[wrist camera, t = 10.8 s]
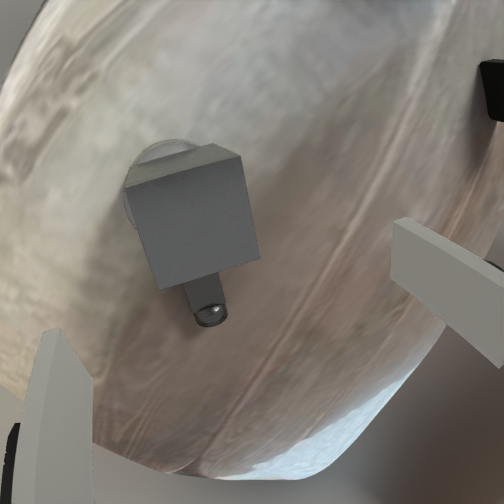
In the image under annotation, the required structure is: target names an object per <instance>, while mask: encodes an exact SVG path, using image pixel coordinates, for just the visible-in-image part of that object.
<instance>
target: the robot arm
mask: <svg viewBox="0 0 504 504" xmlns="http://www.w3.org/2000/svg"><path fill="white" fill-rule="evenodd" d="M390 279H392V280H393V281H394V282H396V283H397V284H398V285H399V286H401V287H402V288H403V289H405V290H406V291H407V292H408V293H410V294H411V295H412V296H413V297H415V298H416V299H417V300H418V301H420V302H421V303H422V304H423V305H425V306H426V307H427V308H428V309H430V310H431V311H432V312H433V313H435V314H436V315H437V316H438V317H439V318H441V319H442V320H443V321H444V322H445V323H447V324H448V325H449V326H450V327H451V328H453V329H454V330H455V331H456V332H457V333H459V334H460V335H461V336H462V337H463V338H464V339H466V340H467V341H468V342H469V343H470V344H471V345H473V346H474V347H475V348H476V349H477V350H478V351H480V352H481V353H482V354H483V355H484V356H485V357H486V358H488V359H489V360H490V361H491V362H492V363H493V364H494V365H495V366H497V367H498V368H499V369H500V368H501V366H503V365H504V270H502V268H500V267H499V266H497V265H495V264H494V263H492V262H490V261H486V260H484V259H481V258H479V257H477V256H476V255H474V254H472V253H471V252H469V251H467V250H466V249H464V248H462V247H460V246H459V245H457V244H455V243H453V242H452V241H450V240H448V239H446V238H444V237H443V236H441V235H439V234H437V233H435V232H434V231H432V230H430V229H428V228H426V227H424V226H422V225H420V224H419V223H417V222H415V221H413V220H411V219H409V218H407V217H404V218H401V219H398V220H395V221H393V227H392V256H391V274H390ZM93 388H94V379H93V378H92V377H91V375H90V374H89V372H88V371H87V369H86V368H85V366H84V365H83V363H82V362H81V360H80V359H79V357H78V356H77V354H76V353H75V351H74V350H73V348H72V347H71V345H70V343H69V342H68V340H67V339H66V337H65V335H64V334H63V332H62V330H61V329H60V328H57V329H54V330H50V331H47V332H44V333H43V335H42V338H41V341H40V345H39V348H38V351H37V355H36V359H35V362H34V366H33V370H32V374H31V378H30V382H29V386H28V390H27V394H26V399H25V404H24V408H23V413H22V419H21V423H15V424H14V426H13V428H12V430H11V432H10V434H9V436H8V440H7V446H6V452H7V453H5V458H4V463H5V465H4V466H3V474H2V483H1V495H0V504H95V497H94V482H93V461H92V460H93V459H92V458H93V457H92V414H93Z"/></svg>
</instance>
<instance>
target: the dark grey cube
mask: <svg viewBox="0 0 504 504" xmlns="http://www.w3.org/2000/svg"><path fill="white" fill-rule="evenodd" d="M124 189H125V193H126V196H127V199H128V202H129V205H130V209H131V212H132V215H133V218H134V221H135V224H136V227H137V230H138V233H139V236H140V239H141V242H142V245H143V248H144V251H145V253H146V256H147V259H148V262H149V265H150V267H151V270H152V273H153V275H154V278H155V281H156V283H157V286H158V289H159V290H162V289H165V288H169V287H172V286H175V285H178V284H181V283H184V282H187V281H191V280H194V279H197V278H200V277H203V276H206V275H209V274H213V273H216V272H219V271H222V270H225V269H228V268H231V267H234V266H238V265H241V264H244V263H247V262H250V261H253V260H256V259H259V258H260V256H259V250H258V245H257V240H256V234H255V229H254V224H253V219H252V213H251V208H250V203H249V198H248V192H247V187H246V182H245V177H244V172H243V166H242V161H241V156H240V155H238V154H236V153H233V152H231V151H229V150H227V149H225V148H222V147H220V146H218V145H216V144H213V143H212V144H208V145H204V146H200V147H196V148H193V149H189V150H185V151H181V152H178V153H174V154H171V155H167V156H164V157H160V158H157V159H153V160H150V161H147V162H144V163H140V164H137V165H134V166H131V167H130V169H129V172H128V176H127V180H126V184H125V188H124Z"/></svg>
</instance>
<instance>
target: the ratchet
mask: <svg viewBox="0 0 504 504" xmlns="http://www.w3.org/2000/svg"><path fill="white" fill-rule="evenodd" d="M196 147H200V146H198V145H196V144H194V143H192V142H189V141H185V140H176V139H174V140H166V141H161V142H158V143H156V144H154V145H152V146H150V147H148V148H147V149H146V150H144V151H143V152H142V153H141V154H140V155H139V156H138V157H137V158H136V159H135V161H134V163H133V164H132V166H134V165H137V164H140V163H144V162H147V161H150V160H153V159H157V158H160V157H164V156H167V155H171V154H174V153H178V152H181V151H185V150H189V149H193V148H196ZM124 205H125V209H126V213H127V215H128V218H129V220H130V222H131V223H132V225H133V226H134V227H135V229H136V230H137V227H136V224H135V221H134V218H133V215H132V212H131V209H130V205H129V202H128V199H127V196H126V193H125V189H124ZM137 231H138V230H137ZM182 284H183V287H184V289H185V292H186V295H187V298H188V301H189V304H190V307H191V310H192V312H193V314H194V317H195V320H196V322H197V324H198V325H200V326H202V327H213V326H216V325H219V324H221V323H222V322H223V321H224V320H225V319H226V318H227V315H228V312H227V309H226V305H225V303H226V301H225V298H224V294H223V291H222V287H221V283H220V279H219V276H218V272H216V273H213V274H209V275H206V276H203V277H200V278H197V279H194V280H191V281H187V282H184V283H182Z"/></svg>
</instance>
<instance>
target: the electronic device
mask: <svg viewBox="0 0 504 504" xmlns="http://www.w3.org/2000/svg"><path fill="white" fill-rule="evenodd" d="M480 69H481V74H482V79H483V84H484V89H485V95H486V101H487V108H488V114H489V117H490V118H491V119H493V120H496V121H501V122H504V60H499V59H492V60H487V61H483V62H481V63H480Z"/></svg>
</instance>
